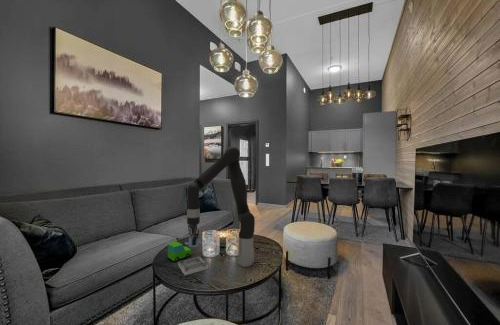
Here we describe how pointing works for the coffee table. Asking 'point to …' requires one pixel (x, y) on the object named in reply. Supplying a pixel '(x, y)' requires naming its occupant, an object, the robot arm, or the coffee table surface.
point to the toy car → (177, 251)
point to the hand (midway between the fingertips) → (193, 243)
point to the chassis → (192, 265)
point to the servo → (191, 242)
